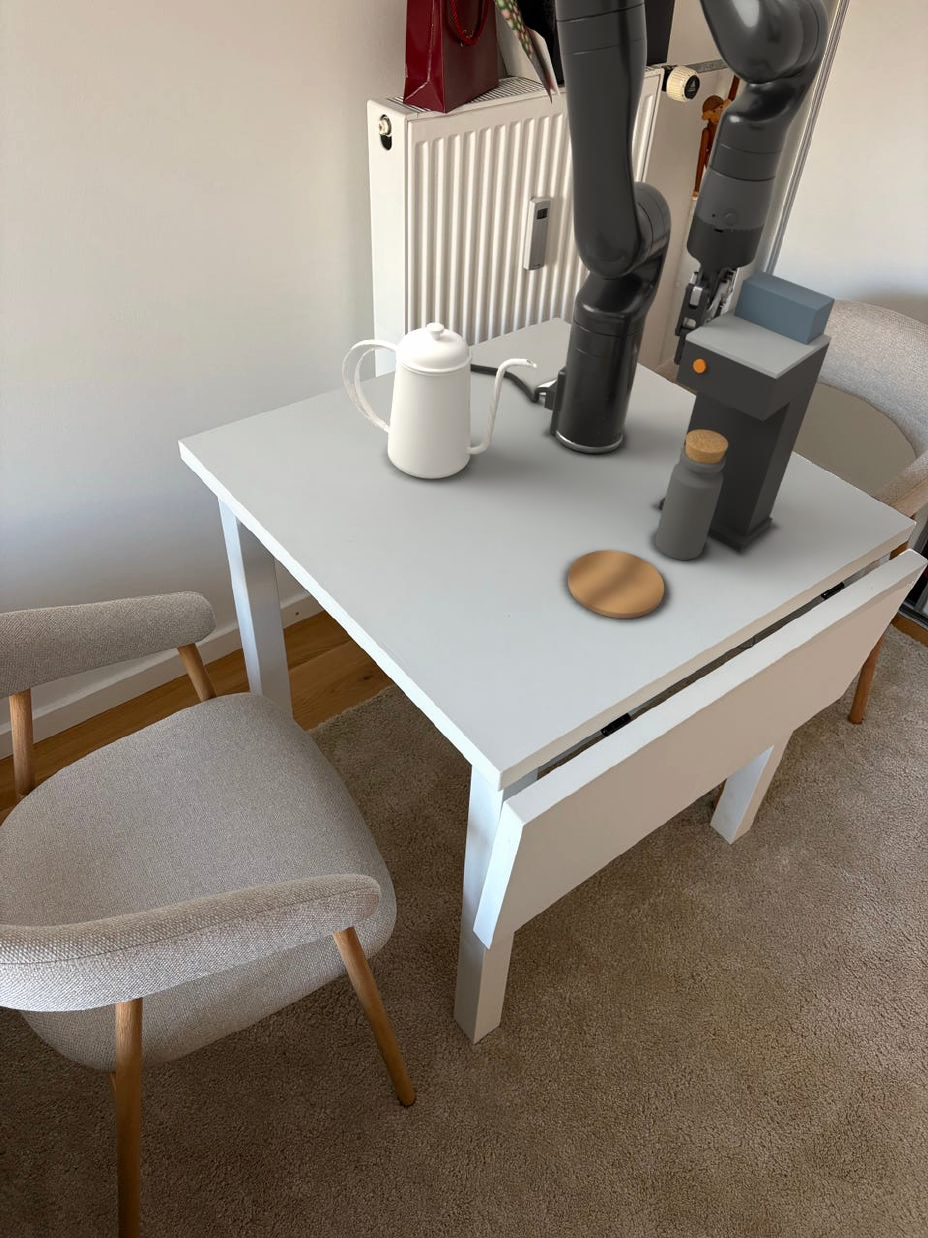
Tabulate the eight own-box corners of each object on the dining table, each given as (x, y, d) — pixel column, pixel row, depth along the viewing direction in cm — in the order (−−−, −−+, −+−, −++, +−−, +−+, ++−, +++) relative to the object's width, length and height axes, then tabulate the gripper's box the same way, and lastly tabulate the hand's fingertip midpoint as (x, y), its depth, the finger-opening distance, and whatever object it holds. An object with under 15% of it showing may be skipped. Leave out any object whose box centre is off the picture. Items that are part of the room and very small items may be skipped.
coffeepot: (510, 505, 124) (526, 370, 111) (328, 457, 129) (323, 323, 116) (534, 460, 131) (552, 329, 118) (361, 416, 136) (361, 286, 123)
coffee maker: (719, 570, 117) (791, 340, 97) (636, 524, 122) (688, 298, 102) (770, 526, 124) (848, 303, 104) (690, 484, 130) (749, 265, 109)
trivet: (550, 592, 112) (551, 587, 112) (594, 543, 119) (595, 538, 119) (638, 632, 108) (639, 627, 108) (677, 579, 115) (679, 574, 115)
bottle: (701, 564, 118) (733, 458, 107) (652, 555, 118) (679, 449, 108) (703, 535, 122) (734, 430, 112) (656, 526, 122) (682, 422, 112)
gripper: (716, 181, 110) (683, 315, 122) (675, 225, 101) (643, 366, 112) (782, 198, 108) (741, 333, 119) (746, 244, 99) (706, 386, 110)
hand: (694, 349), depth 116 cm, fingers open, 8 cm apart
